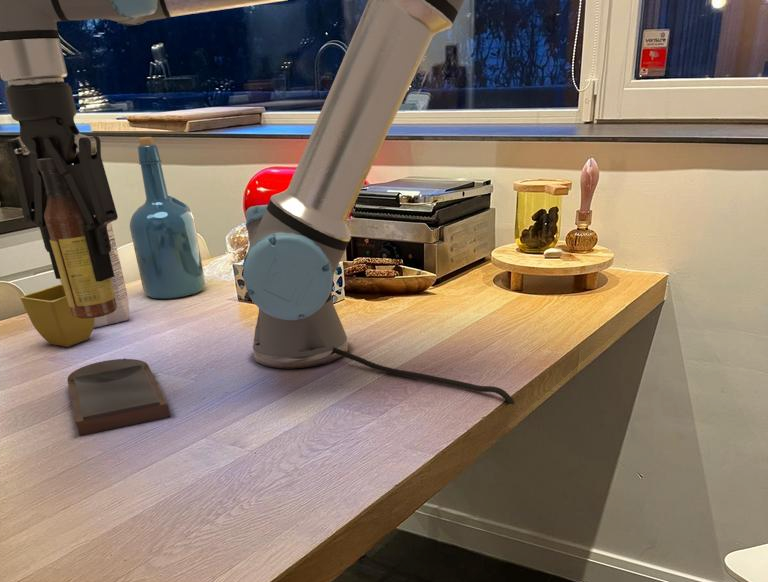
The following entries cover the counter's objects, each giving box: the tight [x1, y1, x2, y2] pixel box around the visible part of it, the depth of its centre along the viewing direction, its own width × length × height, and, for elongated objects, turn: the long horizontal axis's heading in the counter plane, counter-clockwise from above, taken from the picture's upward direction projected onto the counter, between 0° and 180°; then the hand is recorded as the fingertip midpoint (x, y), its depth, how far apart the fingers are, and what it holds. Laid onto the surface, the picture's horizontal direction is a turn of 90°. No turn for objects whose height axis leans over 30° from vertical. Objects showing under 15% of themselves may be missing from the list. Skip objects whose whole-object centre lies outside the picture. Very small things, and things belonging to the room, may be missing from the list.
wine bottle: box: [129, 136, 206, 300], centre depth 160 cm, size 14×13×30 cm
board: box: [66, 358, 171, 437], centre depth 114 cm, size 24×12×2 cm, turn 23°
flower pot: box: [20, 283, 95, 348], centre depth 138 cm, size 9×9×9 cm
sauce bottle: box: [36, 158, 117, 318], centre depth 102 cm, size 6×6×20 cm
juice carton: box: [59, 214, 130, 329], centre depth 144 cm, size 9×10×27 cm
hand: (85, 277), depth 105 cm, fingers closed on sauce bottle, 6 cm apart
